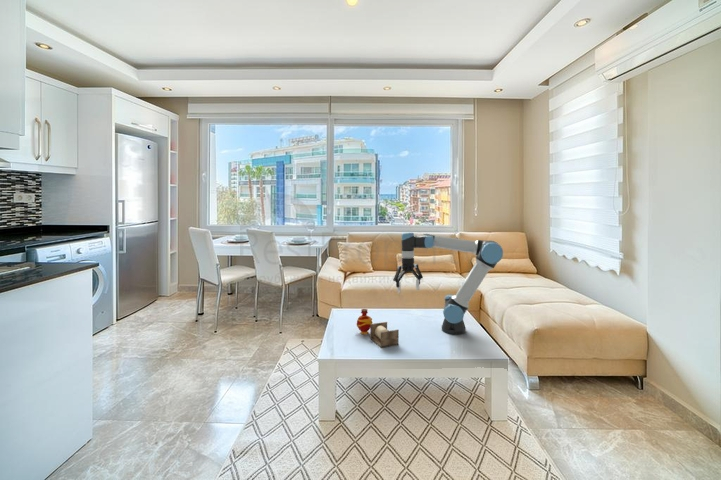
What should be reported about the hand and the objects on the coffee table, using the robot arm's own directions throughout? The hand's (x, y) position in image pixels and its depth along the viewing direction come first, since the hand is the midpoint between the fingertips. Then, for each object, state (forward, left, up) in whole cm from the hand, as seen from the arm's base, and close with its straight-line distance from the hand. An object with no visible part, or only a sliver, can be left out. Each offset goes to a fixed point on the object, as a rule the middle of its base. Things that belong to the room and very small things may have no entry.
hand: (408, 291), depth 217 cm
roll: (+20, +7, -26) cm, 34 cm away
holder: (+20, +7, -27) cm, 35 cm away
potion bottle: (+25, -11, -28) cm, 39 cm away
